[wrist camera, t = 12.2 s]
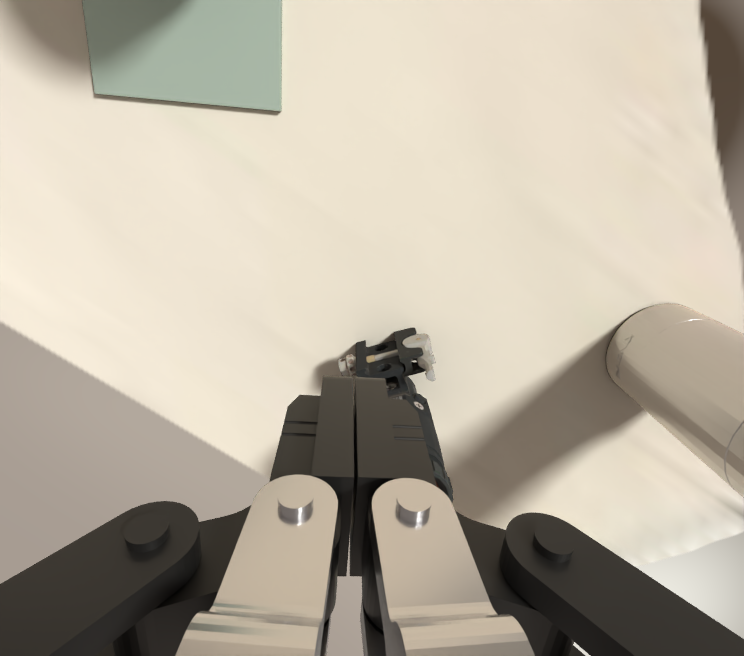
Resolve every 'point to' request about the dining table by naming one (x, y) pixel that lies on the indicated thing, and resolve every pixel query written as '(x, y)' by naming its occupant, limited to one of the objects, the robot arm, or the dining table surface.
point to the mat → (187, 50)
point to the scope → (403, 383)
